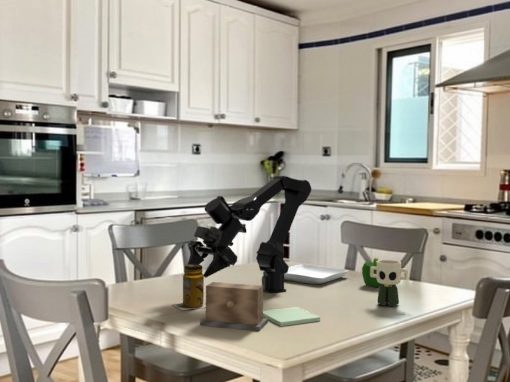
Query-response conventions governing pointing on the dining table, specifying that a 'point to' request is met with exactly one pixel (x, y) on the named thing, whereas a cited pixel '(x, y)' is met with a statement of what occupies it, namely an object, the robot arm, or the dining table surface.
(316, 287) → the dining table surface
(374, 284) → the bell pepper
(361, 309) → the dining table surface
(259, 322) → the walnut unit
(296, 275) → the salad plate
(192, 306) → the condiment
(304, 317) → the sage pad
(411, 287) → the dining table surface
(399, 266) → the character mug
